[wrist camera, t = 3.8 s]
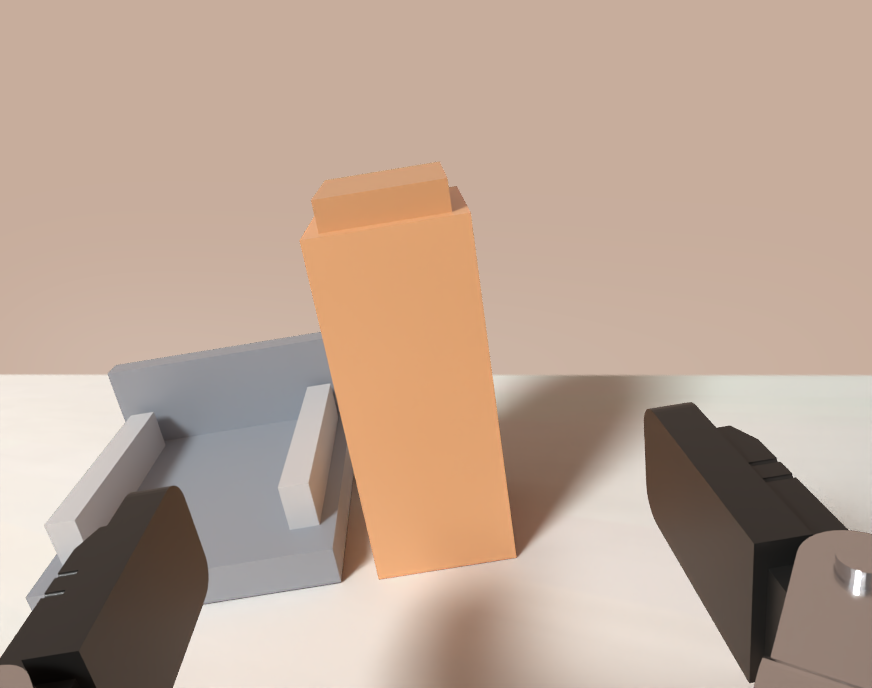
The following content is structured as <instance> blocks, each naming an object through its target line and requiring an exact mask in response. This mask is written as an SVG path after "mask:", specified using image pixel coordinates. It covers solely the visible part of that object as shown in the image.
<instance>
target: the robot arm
mask: <svg viewBox="0 0 872 688" xmlns="http://www.w3.org/2000/svg"><path fill="white" fill-rule="evenodd" d="M644 437H645V462H646V486H647V494H648V500H649V504H650V508H651V511H652V514H653V517H654V519H655V521H656V523H657V525H658V527H659V529H660V530H661V532H662V534H663V536H664V537H665V539H666V541H667V542H668V544H669V546H670V548H671V549H672V551H673V553H674V555H675V556H676V558H677V560H678V561H679V563H680V565H681V567H682V568H683V570H684V572H685V573H686V575H687V577H688V579H689V580H690V582H691V584H692V585H693V587H694V589H695V591H696V592H697V594H698V596H699V597H700V599H701V601H702V603H703V604H704V606H705V608H706V610H707V611H708V613H709V615H710V616H711V618H712V620H713V622H714V623H715V625H716V627H717V628H718V630H719V632H720V634H721V635H722V637H723V639H724V640H725V642H726V644H727V646H728V647H729V649H730V651H731V653H732V654H733V656H734V658H735V659H736V661H737V663H738V665H739V666H740V668H741V670H742V671H743V673H744V675H745V677H746V678H747V680H748V682H749V683H753V682H755V684H754V688H872V534H869V533H864V532H858V531H849V530H848V529H847V528H846V527H845V526H844V525H843V524H842V523H841V522H840V521H839V520H838V519H837V518H836V517H835V516H834V515H833V514H832V513H831V512H830V511H829V510H828V509H827V508H826V507H825V506H824V505H823V504H822V503H821V502H820V501H819V500H818V499H817V498H816V497H815V496H814V495H813V494H812V493H811V492H810V491H809V490H808V489H807V488H806V487H805V486H804V485H803V484H802V483H801V482H800V481H799V480H798V479H797V478H793V476H792V473H791V472H790V471H789V470H788V469H787V468H786V467H785V466H784V465H783V464H782V463H781V462H777V458H776V457H775V456H774V455H773V454H772V453H771V452H770V451H769V450H768V449H767V448H766V447H765V446H764V445H763V444H762V443H761V442H760V441H759V440H758V439H756V438H754V437H752V436H750V435H748V434H746V433H744V432H742V431H740V430H738V429H736V428H734V427H732V426H725V427H718V428H716V427H715V426H714V425H713V424H712V423H711V421H710V420H709V419H708V418H707V417H706V416H705V415H704V414H703V413H702V412H701V410H700V409H699V408H698V407H697V406H696V405H695V404H694V403H692V402H689V403H682V404H676V405H670V406H664V407H658V408H652V409H647V410H646V412H645V415H644ZM208 581H209V573H208V564H207V559H206V556H205V553H204V550H203V547H202V544H201V542H200V539H199V536H198V533H197V530H196V528H195V525H194V522H193V519H192V516H191V513H190V511H189V508H188V505H187V502H186V499H185V497H184V494H183V493H182V491H181V490H180V488H179V487H177V486H167V487H161V488H155V489H148V490H142V491H136V492H131V493H129V494H128V495H127V496H126V497H125V498H124V500H123V502H122V503H121V505H120V506H119V508H118V509H117V511H116V512H115V514H114V516H113V517H112V519H111V520H110V522H109V523H108V525H107V526H103V527H99V528H98V529H97V530H96V531H95V532H94V533H93V534H91V535H90V536H89V537H88V538H87V539H86V540H84V541H83V542H82V543H81V544H80V545H79V546H77V547H76V548H75V549H74V550H73V552H72V553H71V555H70V556H69V557H68V559H67V560H66V562H65V563H64V565H63V566H62V568H61V569H60V571H59V572H58V578H54V580H53V581H52V583H51V584H50V586H49V587H48V588H47V590H46V591H45V593H44V594H45V597H44V598H41V599H40V600H39V602H38V603H37V605H36V606H35V608H34V609H33V611H32V612H31V614H30V615H29V616H28V618H27V619H26V621H25V622H24V624H23V625H22V627H21V628H20V630H19V631H18V633H17V634H16V636H15V637H14V639H13V640H12V642H11V643H10V644H9V646H8V647H7V649H6V650H5V652H4V653H3V655H2V656H1V658H0V688H173V686H174V683H175V680H176V677H177V675H178V672H179V669H180V666H181V664H182V661H183V658H184V655H185V653H186V650H187V647H188V644H189V642H190V639H191V636H192V633H193V631H194V628H195V625H196V622H197V620H198V617H199V614H200V611H201V609H202V606H203V603H204V600H205V598H206V594H207V590H208Z"/></svg>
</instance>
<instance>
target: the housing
mask: <svg viewBox="0 0 872 688" xmlns="http://www.w3.org/2000/svg"><path fill="white" fill-rule="evenodd" d="M108 376H109V379H110V382H111V384H112V387H113V390H114V392H115V395H116V398H117V400H118V403H119V406H120V408H121V411H122V414H123V416H124V419H125V424H124V425H123V426H122V427H121V429H120V430H119V431H118V432H117V434H116V435H115V436H114V438H113V439H112V440H111V441H110V443H109V444H108V445H107V446H106V448H105V449H104V450H103V451H102V453H101V454H100V455H99V457H98V458H97V459H96V460H95V462H94V463H93V464H92V465H91V467H90V468H89V469H88V470H87V472H86V473H85V474H84V476H83V477H82V478H81V479H80V481H79V482H78V483H77V484H76V486H75V487H74V488H73V489H72V491H71V492H70V493H69V495H68V496H67V497H66V498H65V500H64V501H63V502H62V503H61V505H60V506H59V507H58V508H57V510H56V511H55V512H54V514H53V515H52V516H51V517H50V519H49V520H48V521H47V522H46V524H45V525H44V526H45V528H46V531H47V533H48V535H49V537H50V539H51V542H52V544H53V546H54V548H55V550H56V552H57V554H56V556H55V557H54V559H53V560H52V561H51V563H50V564H49V566H48V567H47V568H46V570H45V571H44V573H43V574H42V575H41V577H40V578H39V580H38V581H37V582H36V584H35V585H34V587H33V588H32V589H31V591H30V592H29V594H28V595H27V596H26V600H27V602H28V604H29V606H30V608H31V610H32V611H33V609H34V608H35V606H36V605H37V603H38V602H39V600H40V599H41V598H44V597H45V594H44V593H45V591H46V590H47V588H48V587H49V586H50V584H51V583H52V581H53V580H54V578H58V572H59V571H60V569H61V568H62V566H63V565H64V563H65V562H66V560H67V559H68V557H69V556H70V555H71V553H72V552H73V550H74V549H75V548H76V547H77V546H79V545H80V544H81V543H82V542H83V541H84V540H86V539H87V538H88V537H89V536H90V535H91V534H93V533H94V532H95V531H96V530H97V529H98V528H99V527H103V526H107V525H108V523H109V522H110V520H111V519H112V517H113V516H114V514H115V512H116V511H117V509H118V508H119V506H120V505H121V503H122V502H123V500H124V498H125V497H126V496H127V495H128V494H129V493H131V492H136V491H142V490H148V489H155V488H161V487H167V486H177V487H179V488H180V490H181V491H182V493H183V494H184V497H185V499H186V502H187V505H188V508H189V511H190V513H191V516H192V519H193V522H194V525H195V528H196V530H197V533H198V536H199V539H200V542H201V544H202V547H203V550H204V553H205V556H206V559H207V564H208V573H209V581H208V590H207V594H206V598H205V600H204V603H203V604H207V603H213V602H219V601H225V600H232V599H238V598H244V597H251V596H257V595H263V594H270V593H276V592H282V591H288V590H295V589H301V588H307V587H314V586H320V585H326V584H333V583H339V582H341V579H342V570H343V561H344V552H345V543H346V535H347V526H348V517H349V508H350V499H351V491H352V482H353V473H354V471H353V467H352V463H351V458H350V454H349V450H348V445H347V441H346V437H345V433H344V428H343V424H342V420H341V415H340V411H339V407H338V403H337V398H336V394H335V390H334V386H333V381H332V377H331V373H330V368H329V364H328V360H327V356H326V351H325V347H324V343H323V339H322V334H321V332H318V333H312V334H305V335H299V336H293V337H287V338H281V339H275V340H269V341H262V342H256V343H250V344H244V345H239V346H232V347H225V348H219V349H213V350H207V351H201V352H195V353H188V354H182V355H177V356H170V357H164V358H157V359H151V360H145V361H139V362H133V363H127V364H121V365H116V366H115V367H114V368H113V369H112V370H111V371H110V372H109V373H108Z"/></svg>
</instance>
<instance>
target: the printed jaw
mask: <svg viewBox="0 0 872 688" xmlns="http://www.w3.org/2000/svg"><path fill="white" fill-rule="evenodd" d="M311 202H312V206H313V211H314V217H313V219H312V221H311V223H310V224H309V226H308V227H307V229H306V231H305V232H304V234H303V236H302V237H301V239H300V244H301V248H302V253H303V257H304V262H305V266H306V270H307V274H308V278H309V282H310V287H311V290H312V296H313V300H314V304H315V308H316V313H317V317H318V321H319V325H320V329H321V334H322V339H323V343H324V347H325V351H326V356H327V360H328V364H329V368H330V373H331V377H332V381H333V386H334V390H335V394H336V398H337V403H338V407H339V411H340V415H341V420H342V424H343V428H344V433H345V437H346V441H347V445H348V450H349V454H350V458H351V463H352V467H353V471H354V475H355V480H356V484H357V488H358V492H359V497H360V501H361V505H362V510H363V514H364V518H365V522H366V527H367V531H368V535H369V540H370V544H371V548H372V552H373V557H374V561H375V565H376V569H377V574H378V578H379V579H385V578H391V577H397V576H404V575H410V574H416V573H423V572H429V571H435V570H441V569H448V568H454V567H460V566H467V565H473V564H479V563H486V562H492V561H498V560H505V559H511V558H517V557H516V550H515V542H514V535H513V527H512V520H511V512H510V505H509V497H508V490H507V482H506V475H505V467H504V459H503V452H502V444H501V437H500V429H499V422H498V414H497V407H496V399H495V392H494V384H493V377H492V369H491V362H490V355H489V347H488V339H487V332H486V324H485V317H484V309H483V302H482V294H481V287H480V279H479V272H478V265H477V257H476V249H475V242H474V234H473V227H472V219H471V212H470V211H469V209H468V207H467V205H466V203H465V201H464V199H463V197H462V195H461V193H460V192H459V190H458V188H457V186H454V187H449V186H448V180H447V176H446V174H445V172H444V170H443V168H442V166H441V164H440V162H434V163H428V164H422V165H416V166H409V167H403V168H397V169H391V170H385V171H379V172H373V173H367V174H361V175H355V176H348V177H342V178H337V179H331V180H325V181H324V183H323V184H322V185H321V187H320V188H319V190H318V191H317V193H316V194H315V195H314V197H313V198H312V200H311Z"/></svg>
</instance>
